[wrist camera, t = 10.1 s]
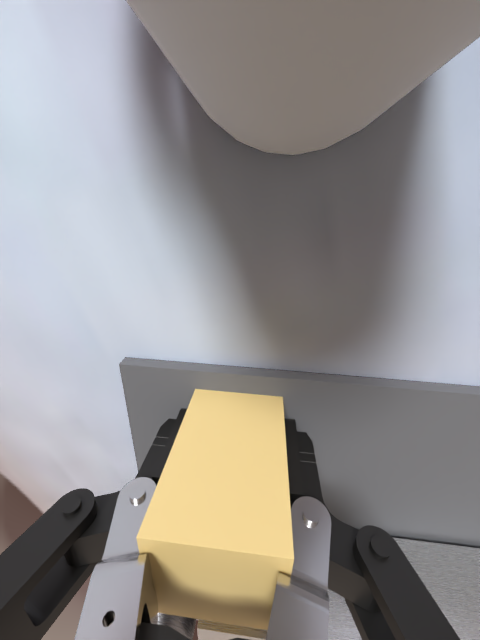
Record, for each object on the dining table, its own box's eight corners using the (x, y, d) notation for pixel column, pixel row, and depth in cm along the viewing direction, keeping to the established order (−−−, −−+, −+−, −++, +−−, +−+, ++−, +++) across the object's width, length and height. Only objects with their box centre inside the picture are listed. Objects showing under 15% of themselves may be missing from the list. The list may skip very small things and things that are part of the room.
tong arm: (216, 535, 16) (198, 648, 12) (216, 515, 15) (197, 628, 11) (557, 580, 15) (668, 726, 11) (576, 560, 14) (704, 709, 10)
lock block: (198, 451, 14) (152, 612, 8) (195, 388, 12) (135, 537, 7) (275, 459, 14) (279, 631, 8) (282, 396, 12) (294, 559, 7)
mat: (159, 563, 20) (156, 574, 19) (125, 357, 13) (119, 364, 12) (519, 615, 18) (527, 628, 17) (723, 406, 11) (747, 417, 10)
